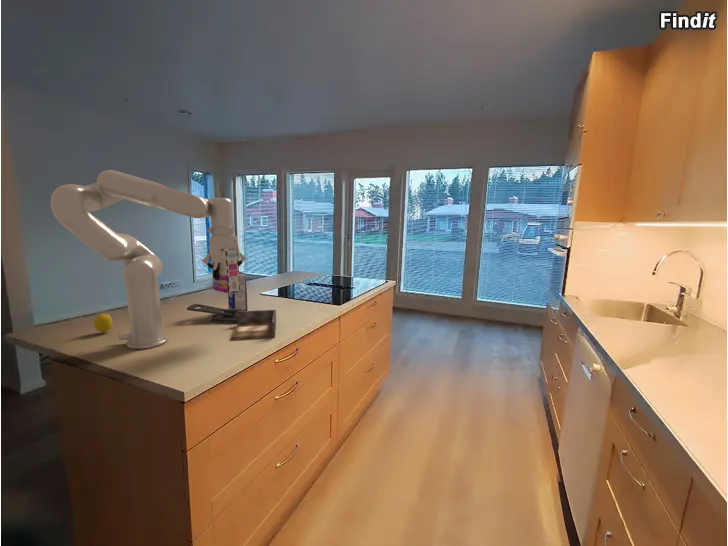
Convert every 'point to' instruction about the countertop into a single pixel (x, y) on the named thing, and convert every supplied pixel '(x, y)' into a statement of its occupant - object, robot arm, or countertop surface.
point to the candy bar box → (227, 272)
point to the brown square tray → (255, 324)
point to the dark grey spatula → (218, 313)
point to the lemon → (103, 323)
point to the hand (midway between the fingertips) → (226, 278)
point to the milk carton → (239, 295)
